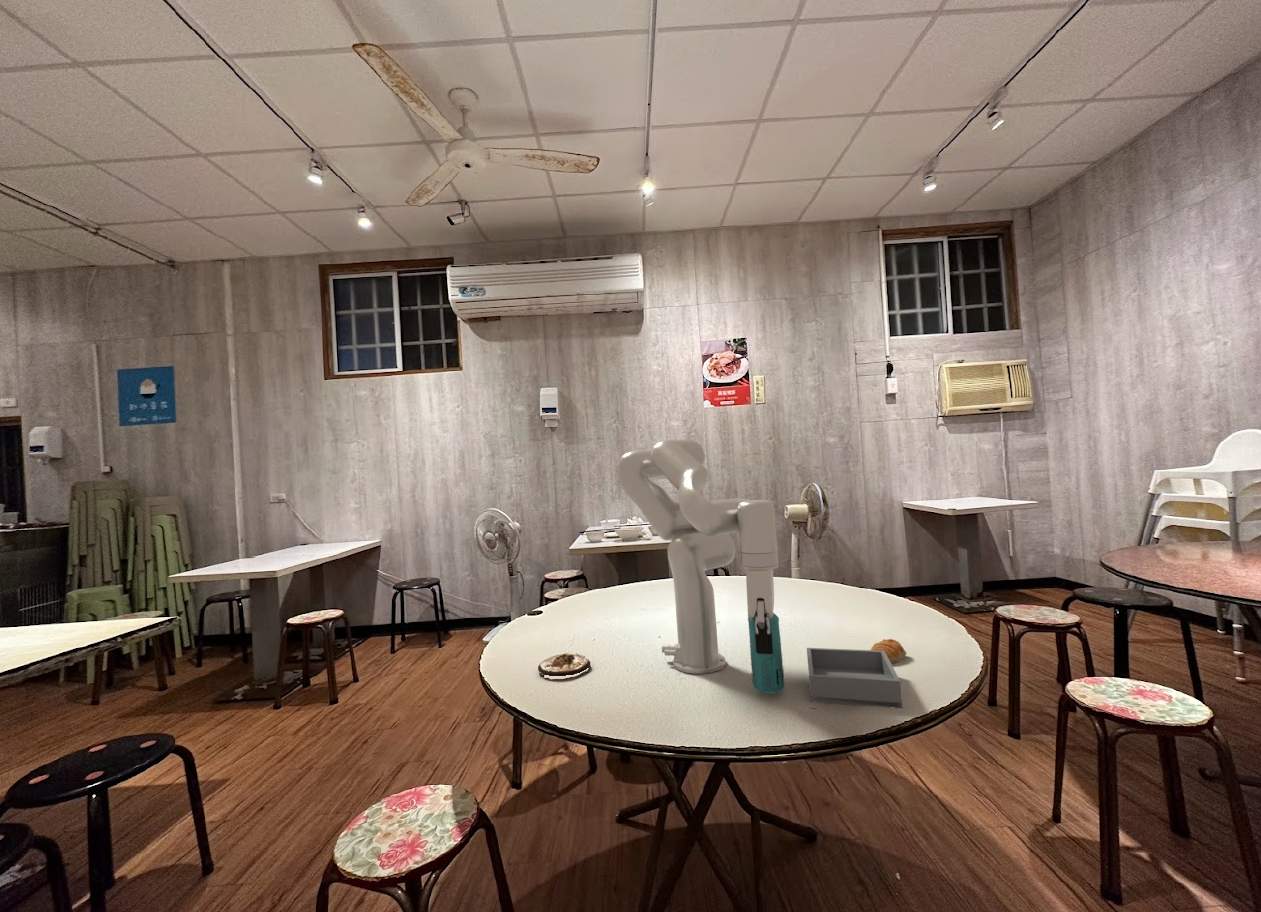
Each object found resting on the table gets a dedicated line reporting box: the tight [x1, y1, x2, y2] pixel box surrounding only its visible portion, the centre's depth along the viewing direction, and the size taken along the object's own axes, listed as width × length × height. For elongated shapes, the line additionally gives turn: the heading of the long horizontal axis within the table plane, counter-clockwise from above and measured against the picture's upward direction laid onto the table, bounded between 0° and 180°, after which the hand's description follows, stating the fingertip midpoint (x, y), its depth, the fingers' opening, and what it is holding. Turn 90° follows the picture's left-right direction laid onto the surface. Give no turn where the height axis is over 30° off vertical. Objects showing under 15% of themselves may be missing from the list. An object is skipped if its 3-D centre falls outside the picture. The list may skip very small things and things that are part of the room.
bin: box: [806, 647, 903, 709], centre depth 102 cm, size 16×16×5 cm
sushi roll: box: [537, 652, 591, 676], centre depth 122 cm, size 15×15×4 cm
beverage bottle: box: [747, 603, 786, 694], centre depth 102 cm, size 6×7×20 cm
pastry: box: [870, 638, 907, 664], centre depth 116 cm, size 9×7×4 cm
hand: (765, 646), depth 102 cm, fingers closed on beverage bottle, 6 cm apart
